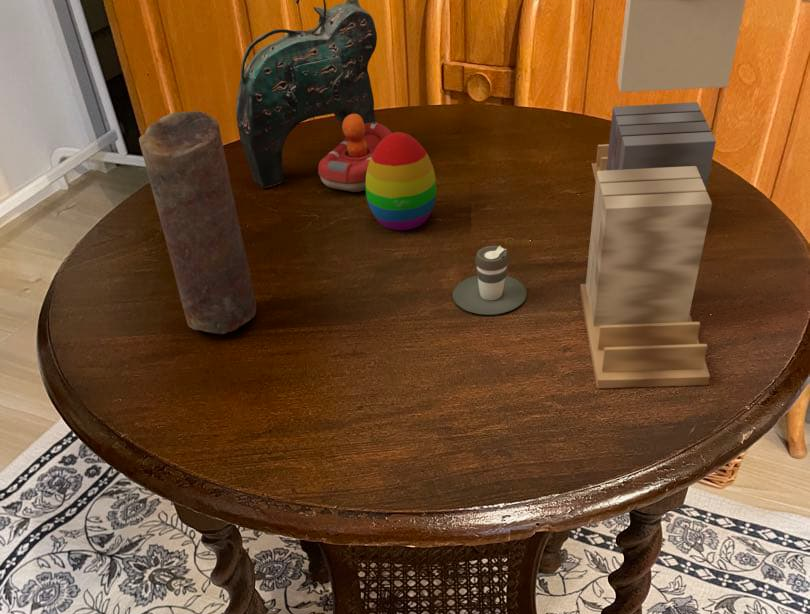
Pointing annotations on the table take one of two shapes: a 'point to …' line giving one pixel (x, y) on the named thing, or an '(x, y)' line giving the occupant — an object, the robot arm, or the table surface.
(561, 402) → the table surface
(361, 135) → the toy boat
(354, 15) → the ceramic cat
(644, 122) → the grey rack
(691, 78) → the cream book
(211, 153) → the brown textured cylinder
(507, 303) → the coffee cup
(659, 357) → the cream rack
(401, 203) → the decorative egg
